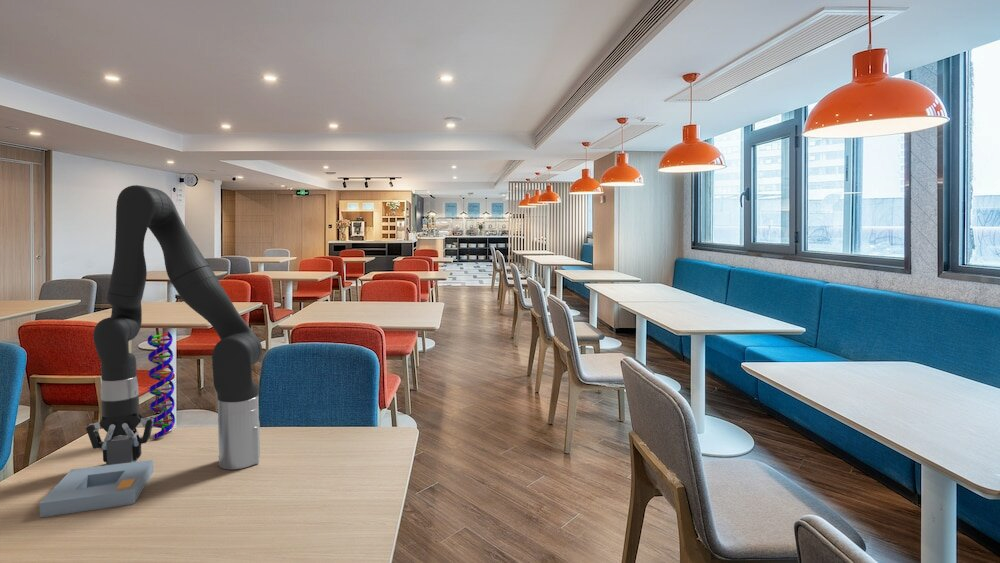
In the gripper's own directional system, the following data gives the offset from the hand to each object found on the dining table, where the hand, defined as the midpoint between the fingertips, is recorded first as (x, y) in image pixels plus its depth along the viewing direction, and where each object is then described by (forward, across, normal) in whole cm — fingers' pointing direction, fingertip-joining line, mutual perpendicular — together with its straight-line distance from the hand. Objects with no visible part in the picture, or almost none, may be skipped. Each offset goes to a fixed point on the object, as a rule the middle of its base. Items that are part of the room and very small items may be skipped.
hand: (122, 460), depth 127 cm
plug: (+1, 0, 0) cm, 1 cm away
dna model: (+1, -5, -18) cm, 19 cm away
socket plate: (+1, 0, +15) cm, 15 cm away
